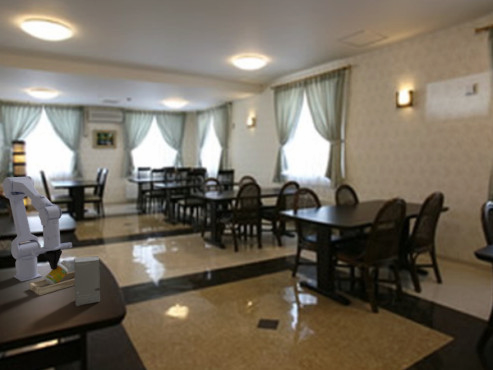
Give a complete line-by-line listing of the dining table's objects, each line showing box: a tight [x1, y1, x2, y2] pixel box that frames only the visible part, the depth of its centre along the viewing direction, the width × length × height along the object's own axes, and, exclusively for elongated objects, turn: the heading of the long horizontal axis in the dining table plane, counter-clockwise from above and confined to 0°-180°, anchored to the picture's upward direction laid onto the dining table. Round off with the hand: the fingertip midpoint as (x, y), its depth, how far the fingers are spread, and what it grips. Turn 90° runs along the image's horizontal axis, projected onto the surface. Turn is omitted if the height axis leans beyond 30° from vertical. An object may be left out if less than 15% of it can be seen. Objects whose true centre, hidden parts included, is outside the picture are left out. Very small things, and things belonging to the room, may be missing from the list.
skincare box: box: [73, 255, 101, 307], centre depth 124 cm, size 8×7×16 cm
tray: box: [28, 270, 75, 296], centre depth 140 cm, size 10×20×2 cm, turn 141°
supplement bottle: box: [43, 260, 72, 285], centre depth 140 cm, size 5×5×10 cm
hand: (53, 268), depth 138 cm, fingers closed
